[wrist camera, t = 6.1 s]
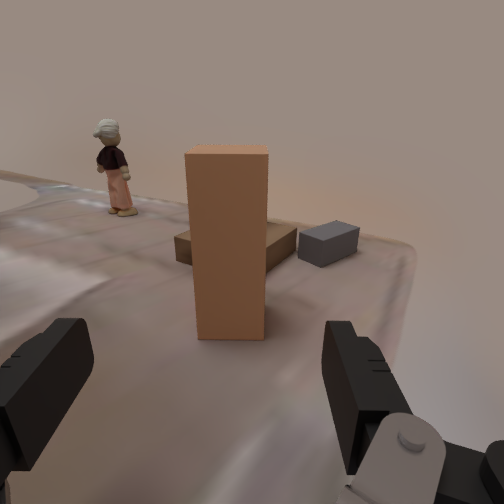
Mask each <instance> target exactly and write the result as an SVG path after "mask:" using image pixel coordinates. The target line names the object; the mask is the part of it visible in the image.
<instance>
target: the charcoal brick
mask: <svg viewBox="0 0 504 504" xmlns="http://www.w3.org/2000/svg"><path fill="white" fill-rule="evenodd" d="M359 230H360V227H357V226H353V225H350V224H347V223H343V222H340V221H337V220H336V221H333V222H330V223H327V224H324V225H320V226H317V227H314V228H311V229H308V230H305V231H302V232H299V247H298V258H299V259H302V260H304V261H306V262H309V263H311V264H313V265H315V266H318V267H320V268H321V267H323V266H326V265H328V264H330V263H333V262H335V261H337V260H339V259H342V258H344V257H346V256H349V255H351V254H353V253H355V252H356V251H357V244H358V237H359Z"/></svg>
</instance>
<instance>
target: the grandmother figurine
mask: <svg viewBox="0 0 504 504" xmlns="http://www.w3.org/2000/svg"><path fill="white" fill-rule="evenodd" d="M118 131H119V126H118V123H117V122H116V121H114V120H111V119H104V120H102V121H100V122H99V123H98V125H97V127H96V129H95V130H94V133H93V136H94V137H96V138H97V137H98V138H99V139H100V140H101V142H102V143H103V144H104V145H105V147H104V148H103V149H102V150H101V151H100V153H99V155H98V157H97V166H98V168H97V171H98V172H99V173H103V172H104V171H106V174H107V177H108V188H109V195H110V203H111V207H112V208H110V209H109V213H111V214H115V213H118V214H117V215H118V216H130V215H135V214H137V213H138V212H137V210H136V209H135V208H133V207H130V206H132V205H133V203H132V199H131V196H130V192H129V188H128V185H127V181H128V180H130V178H131V177H130V175H129V170H128V164H127V162H126V160H125V157H124V153H123V152H122V151H121V150H120V149H118V148H117V147H116V146H117V145H118V144H119V143H120V140H121V138H120V134H119V132H118Z"/></svg>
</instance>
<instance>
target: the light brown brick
mask: <svg viewBox="0 0 504 504" xmlns="http://www.w3.org/2000/svg"><path fill="white" fill-rule="evenodd" d="M185 167H186V181H187V195H188V209H189V223H190V237H191V250H192V264H193V278H194V292H195V306H196V319H197V333H198V339H204V340H264V313H265V273H266V233H267V193H268V151H267V147H266V145H197V146H195V147H194V148H192V149H191V150H189V151H188V152H186V153H185Z"/></svg>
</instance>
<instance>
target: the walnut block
mask: <svg viewBox="0 0 504 504" xmlns="http://www.w3.org/2000/svg"><path fill="white" fill-rule="evenodd" d="M296 237H297V227H291V226H286V225H281V224H276V223H271V222H267V233H266V273H267V272H268V271H270V270H271V269H272V268H273V267H275V266H276V265H277V264H278V263H280V262H281V261H282V260H284V259H285V258H286V257H287V256H289V255H290V254H291V253H293V252H294V251H295V250H296ZM174 241H175V252H176V261H179V262H182V263H185V264H189V265H192V266H193V264H192V250H191V237H190V230H189V231H186V232H184V233H181V234H179V235H177V236H174ZM266 273H265V274H266Z"/></svg>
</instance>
